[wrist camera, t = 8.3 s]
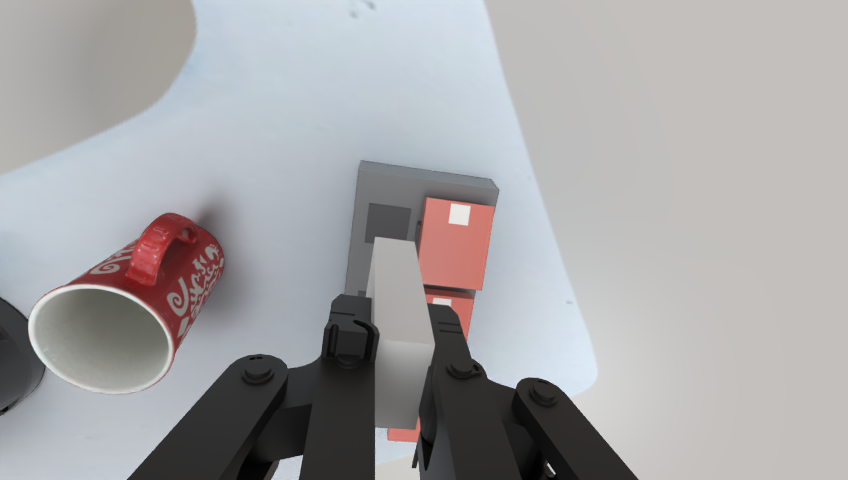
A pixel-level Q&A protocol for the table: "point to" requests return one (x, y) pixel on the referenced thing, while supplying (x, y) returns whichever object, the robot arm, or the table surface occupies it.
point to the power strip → (402, 211)
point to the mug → (128, 309)
